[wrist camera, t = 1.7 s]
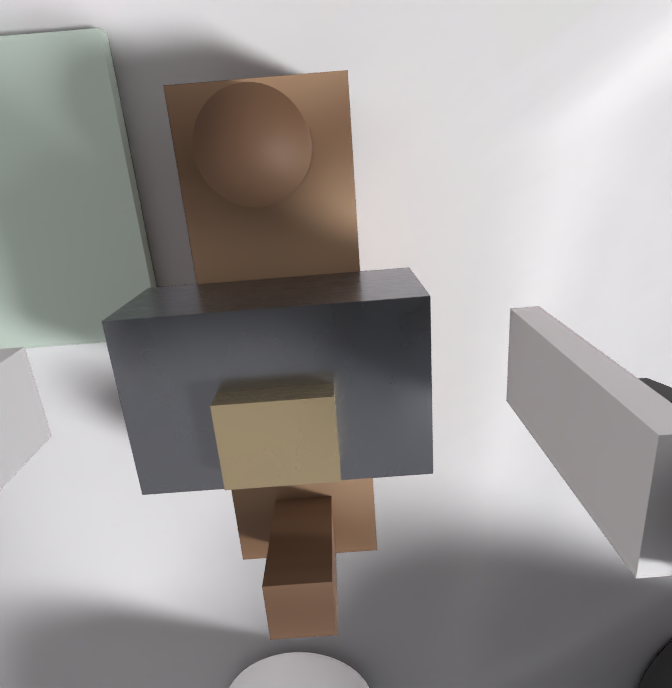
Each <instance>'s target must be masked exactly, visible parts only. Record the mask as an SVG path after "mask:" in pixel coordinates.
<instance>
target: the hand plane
mask: <svg viewBox="0 0 672 688" xmlns="http://www.w3.org/2000/svg"><path fill="white" fill-rule="evenodd" d="M163 86H164V92H165V98H166V104H167V109H168V115H169V121H170V127H171V133H172V139H173V145H174V151H175V157H176V163H177V169H178V175H179V181H180V187H181V193H182V199H183V205H184V211H185V217H186V222H187V228H188V234H189V240H190V246H191V252H192V258H193V264H194V270H195V276H196V282H197V284H204V283H217V282H230V281H243V280H256V279H268V278H281V277H294V276H307V275H320V274H332V273H345V272H358V271H360V264H359V248H358V232H357V215H356V199H355V183H354V167H353V150H352V134H351V118H350V101H349V85H348V70H345V71H333V72H320V73H308V74H296V75H284V76H272V77H260V78H248V79H236V80H224V81H212V82H199V83H187V84H175V85H163ZM232 496H233V502H234V508H235V514H236V520H237V526H238V532H239V538H240V544H241V550H242V556H243V560H244V559H258V558H267V559H266V566H265V572H264V579H263V585H262V588H263V595H264V601H265V608H266V614H267V620H268V627H269V633H270V640H272V639H286V638H300V637H315V636H329V635H338V629H337V579H336V553H342V552H356V551H370V550H377V541H376V525H375V509H374V492H373V478H365V479H351V480H341V482H329V483H315V484H302V485H288V486H274V487H261V488H247V489H233V490H232Z"/></svg>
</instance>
